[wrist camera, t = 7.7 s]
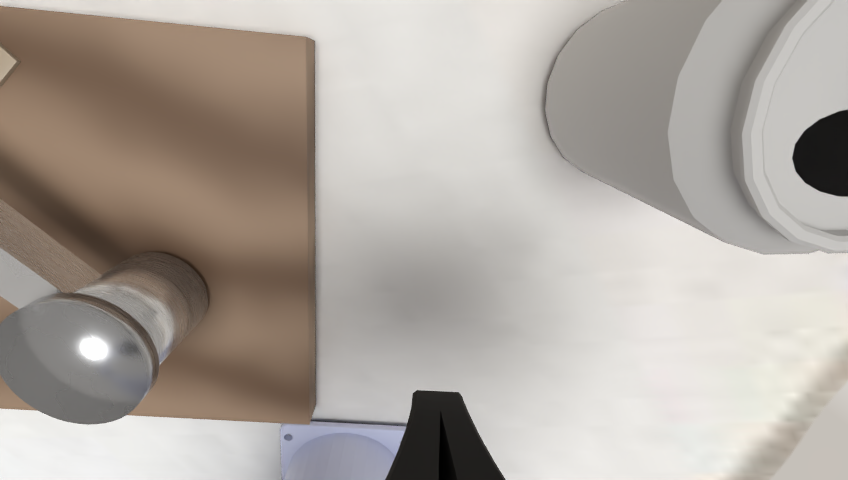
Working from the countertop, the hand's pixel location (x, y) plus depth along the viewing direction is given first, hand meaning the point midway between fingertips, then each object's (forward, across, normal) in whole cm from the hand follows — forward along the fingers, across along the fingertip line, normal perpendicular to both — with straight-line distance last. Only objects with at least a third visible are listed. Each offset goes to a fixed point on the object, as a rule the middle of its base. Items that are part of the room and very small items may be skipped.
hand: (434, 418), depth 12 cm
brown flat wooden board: (+10, +16, -1) cm, 19 cm away
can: (+11, -8, -9) cm, 16 cm away
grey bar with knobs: (+9, +17, -2) cm, 19 cm away
